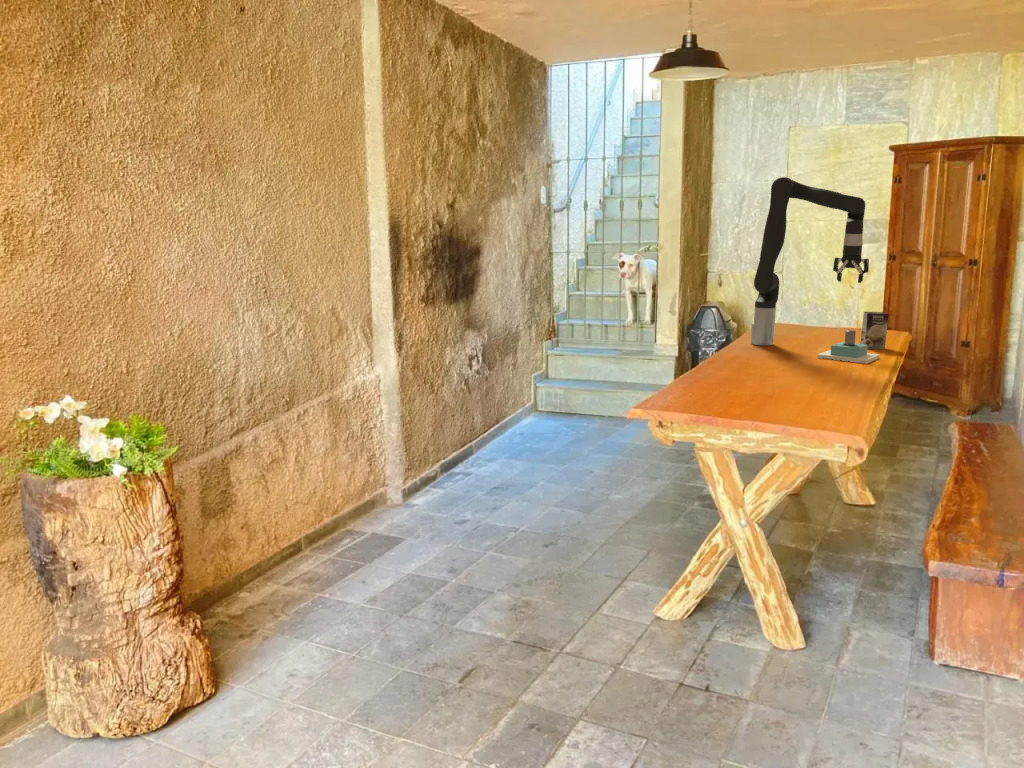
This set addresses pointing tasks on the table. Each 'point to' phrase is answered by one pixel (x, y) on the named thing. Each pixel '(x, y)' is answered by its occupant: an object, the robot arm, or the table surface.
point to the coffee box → (874, 329)
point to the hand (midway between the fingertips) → (849, 282)
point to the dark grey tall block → (850, 338)
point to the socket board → (859, 360)
